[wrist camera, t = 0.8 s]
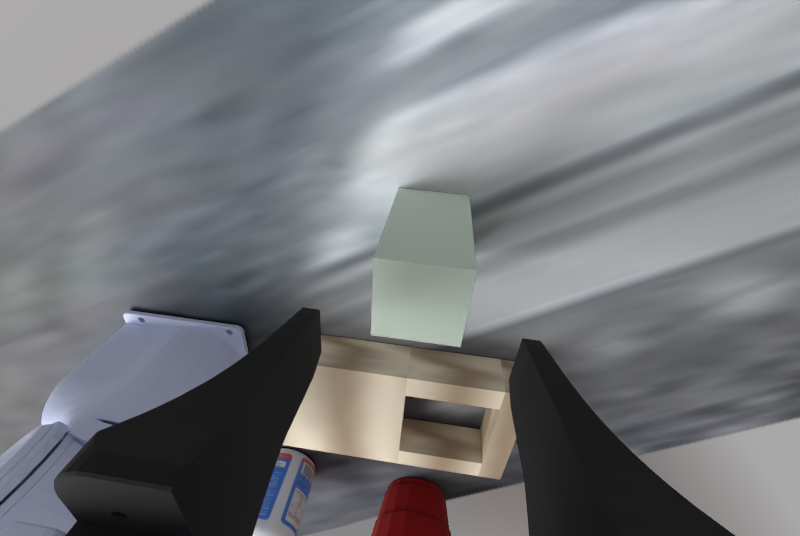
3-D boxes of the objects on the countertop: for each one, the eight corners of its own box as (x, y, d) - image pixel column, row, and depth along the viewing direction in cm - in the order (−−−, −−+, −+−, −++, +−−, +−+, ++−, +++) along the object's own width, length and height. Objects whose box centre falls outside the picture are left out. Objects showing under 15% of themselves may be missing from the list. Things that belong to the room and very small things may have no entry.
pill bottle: (258, 464, 39) (205, 579, 31) (273, 439, 36) (219, 558, 28) (307, 483, 40) (268, 601, 31) (325, 460, 37) (287, 582, 29)
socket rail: (293, 413, 33) (280, 444, 31) (283, 329, 28) (266, 358, 26) (496, 444, 32) (500, 479, 30) (525, 362, 27) (532, 396, 24)
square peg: (394, 249, 23) (370, 335, 17) (398, 187, 21) (373, 257, 14) (458, 256, 23) (460, 347, 16) (469, 195, 21) (476, 270, 14)
